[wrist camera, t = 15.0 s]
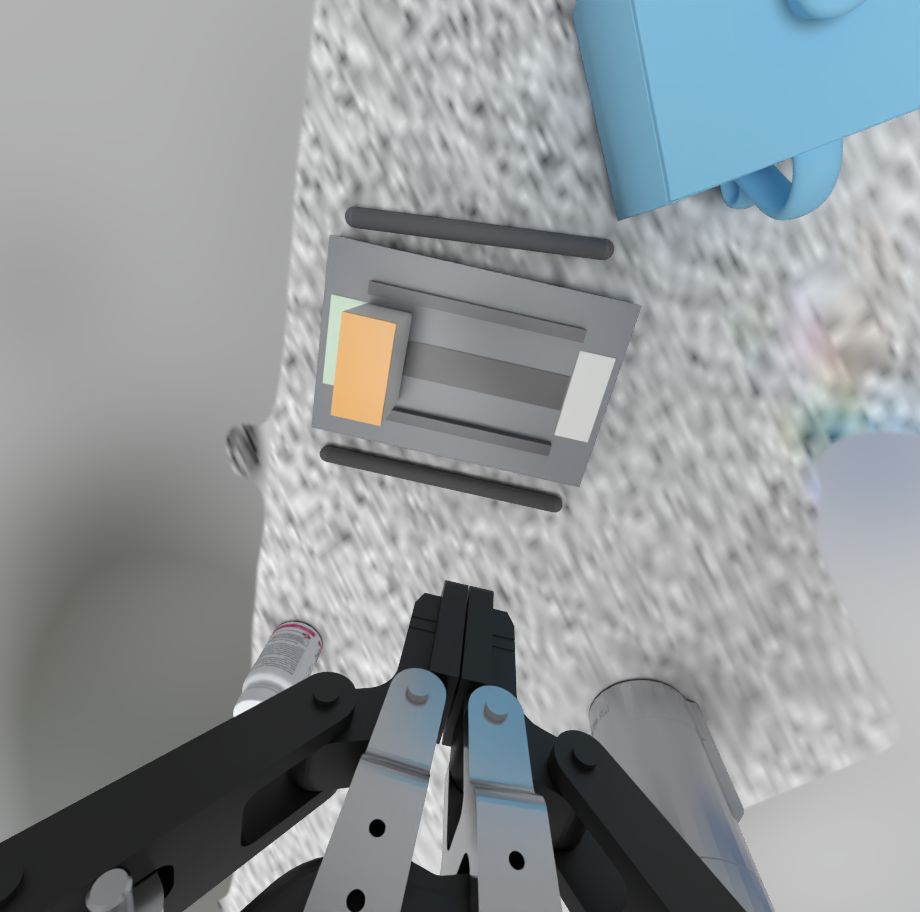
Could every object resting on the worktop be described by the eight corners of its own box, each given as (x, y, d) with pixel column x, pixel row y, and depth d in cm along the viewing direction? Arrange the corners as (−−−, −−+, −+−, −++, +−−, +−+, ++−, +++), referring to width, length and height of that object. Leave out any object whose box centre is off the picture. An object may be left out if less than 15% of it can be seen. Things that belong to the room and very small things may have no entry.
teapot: (621, 264, 31) (696, 267, 19) (555, -27, 26) (603, -268, 14) (934, 150, 28) (1260, 68, 16) (929, -212, 23) (1408, -736, 11)
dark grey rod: (563, 496, 38) (565, 503, 37) (558, 509, 38) (560, 516, 37) (323, 442, 38) (318, 448, 37) (322, 456, 38) (317, 462, 37)
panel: (633, 303, 32) (645, 306, 30) (575, 475, 37) (581, 491, 34) (339, 236, 32) (325, 234, 29) (320, 418, 37) (307, 430, 34)
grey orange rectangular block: (412, 313, 31) (396, 323, 26) (397, 401, 33) (380, 426, 28) (366, 303, 31) (342, 311, 26) (355, 392, 33) (330, 415, 28)
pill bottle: (263, 629, 45) (215, 706, 38) (304, 613, 44) (263, 688, 36) (292, 665, 47) (251, 746, 39) (332, 650, 46) (298, 730, 38)
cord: (613, 240, 31) (617, 240, 30) (609, 260, 31) (613, 261, 30) (348, 206, 31) (343, 204, 30) (347, 227, 32) (342, 225, 31)
